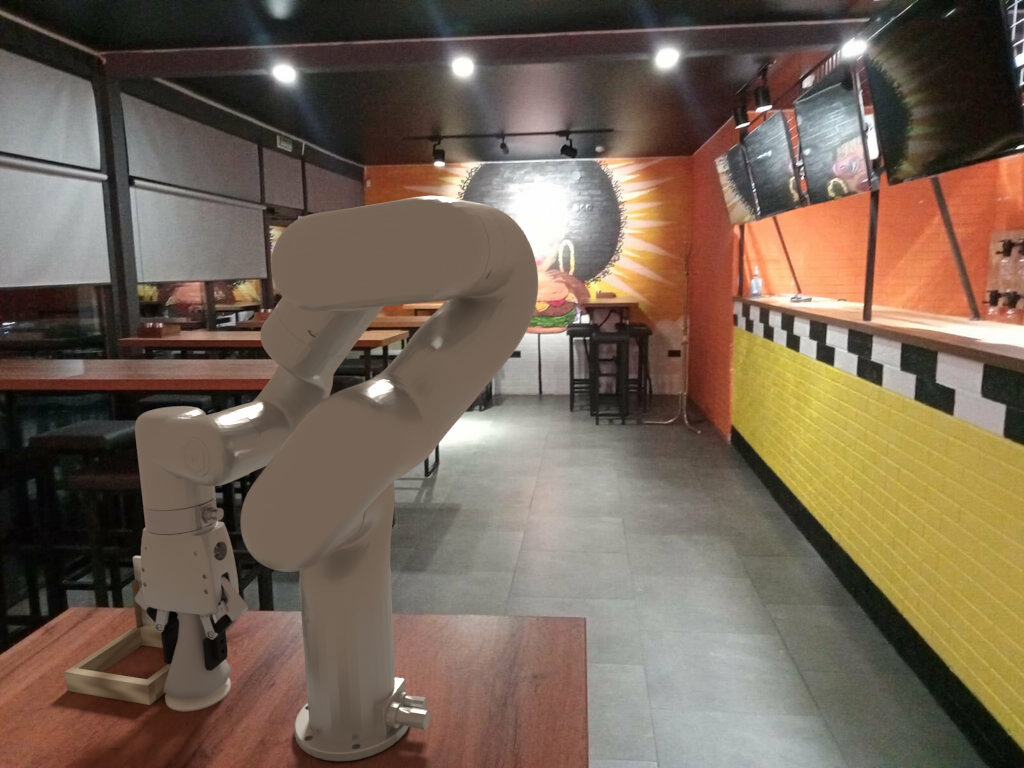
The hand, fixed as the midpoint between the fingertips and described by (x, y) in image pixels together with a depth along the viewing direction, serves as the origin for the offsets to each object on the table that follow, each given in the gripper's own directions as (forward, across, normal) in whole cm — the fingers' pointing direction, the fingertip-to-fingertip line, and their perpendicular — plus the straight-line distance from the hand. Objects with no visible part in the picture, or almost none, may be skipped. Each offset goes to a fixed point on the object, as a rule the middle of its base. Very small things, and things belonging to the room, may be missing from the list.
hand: (196, 659), depth 85 cm
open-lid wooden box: (+4, +10, -3) cm, 11 cm away
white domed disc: (+4, 0, 0) cm, 4 cm away
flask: (+3, 0, 0) cm, 3 cm away
